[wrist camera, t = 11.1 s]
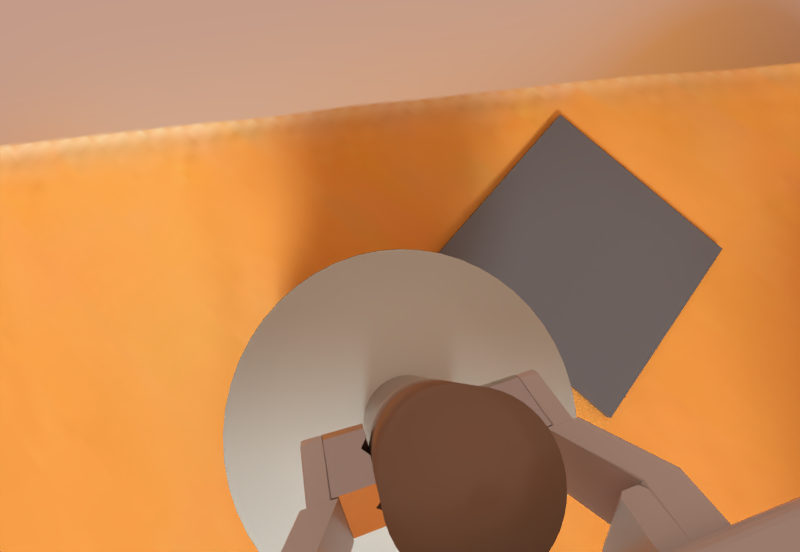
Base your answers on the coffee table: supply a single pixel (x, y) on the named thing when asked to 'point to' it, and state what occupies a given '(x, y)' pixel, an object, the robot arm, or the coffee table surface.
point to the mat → (588, 258)
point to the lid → (402, 405)
